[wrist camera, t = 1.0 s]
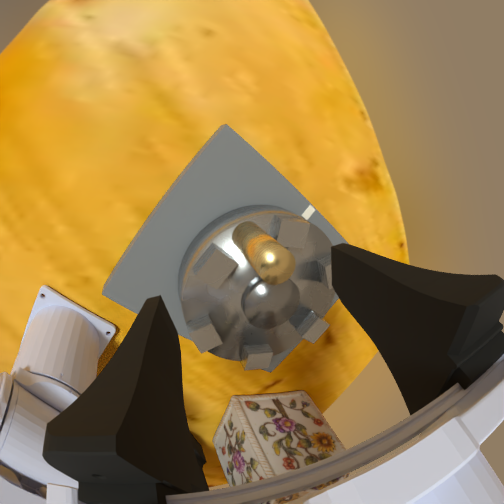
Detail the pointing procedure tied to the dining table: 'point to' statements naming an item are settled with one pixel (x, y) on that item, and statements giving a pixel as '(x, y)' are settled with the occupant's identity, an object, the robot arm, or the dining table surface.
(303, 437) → the decorative jar
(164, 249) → the base plate
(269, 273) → the notched steel disc
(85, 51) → the dining table surface
